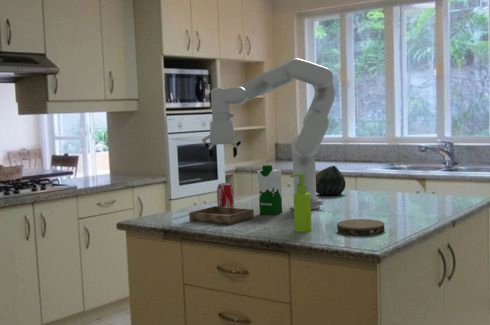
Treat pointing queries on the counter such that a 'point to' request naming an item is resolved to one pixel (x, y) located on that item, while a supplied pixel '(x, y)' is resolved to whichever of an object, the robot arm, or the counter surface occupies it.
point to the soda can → (225, 195)
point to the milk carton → (270, 190)
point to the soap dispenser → (302, 206)
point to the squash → (330, 181)
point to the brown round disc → (360, 227)
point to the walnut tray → (221, 215)
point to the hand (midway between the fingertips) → (223, 157)
